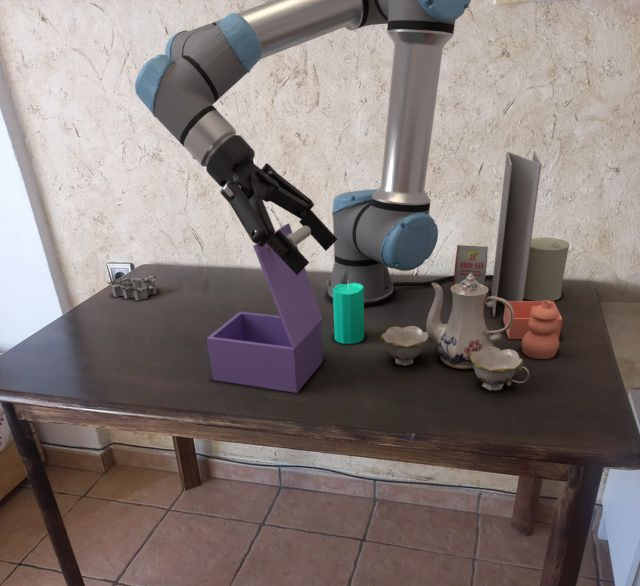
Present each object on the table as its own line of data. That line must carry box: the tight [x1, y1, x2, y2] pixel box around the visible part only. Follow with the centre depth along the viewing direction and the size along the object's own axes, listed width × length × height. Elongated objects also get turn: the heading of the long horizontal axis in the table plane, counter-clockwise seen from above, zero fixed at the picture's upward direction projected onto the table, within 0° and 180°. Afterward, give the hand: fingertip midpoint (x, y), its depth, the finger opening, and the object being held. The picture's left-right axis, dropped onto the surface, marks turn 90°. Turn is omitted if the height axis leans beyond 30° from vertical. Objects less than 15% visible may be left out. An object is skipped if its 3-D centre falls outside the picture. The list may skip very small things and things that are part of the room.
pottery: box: [502, 300, 563, 360], centre depth 117 cm, size 18×10×10 cm, turn 173°
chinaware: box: [379, 273, 530, 391], centre depth 108 cm, size 28×17×17 cm, turn 58°
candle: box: [332, 283, 365, 345], centre depth 121 cm, size 6×6×12 cm
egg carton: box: [106, 275, 158, 301], centre depth 150 cm, size 11×8×4 cm
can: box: [523, 237, 570, 302], centre depth 136 cm, size 9×9×12 cm
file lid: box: [253, 223, 323, 348], centre depth 102 cm, size 17×13×5 cm
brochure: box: [490, 150, 543, 318], centre depth 127 cm, size 14×6×30 cm, turn 168°
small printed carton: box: [452, 244, 489, 286], centre depth 142 cm, size 4×7×10 cm, turn 71°
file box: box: [206, 311, 324, 394], centre depth 112 cm, size 17×13×8 cm
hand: (318, 256), depth 98 cm, fingers open, 12 cm apart
